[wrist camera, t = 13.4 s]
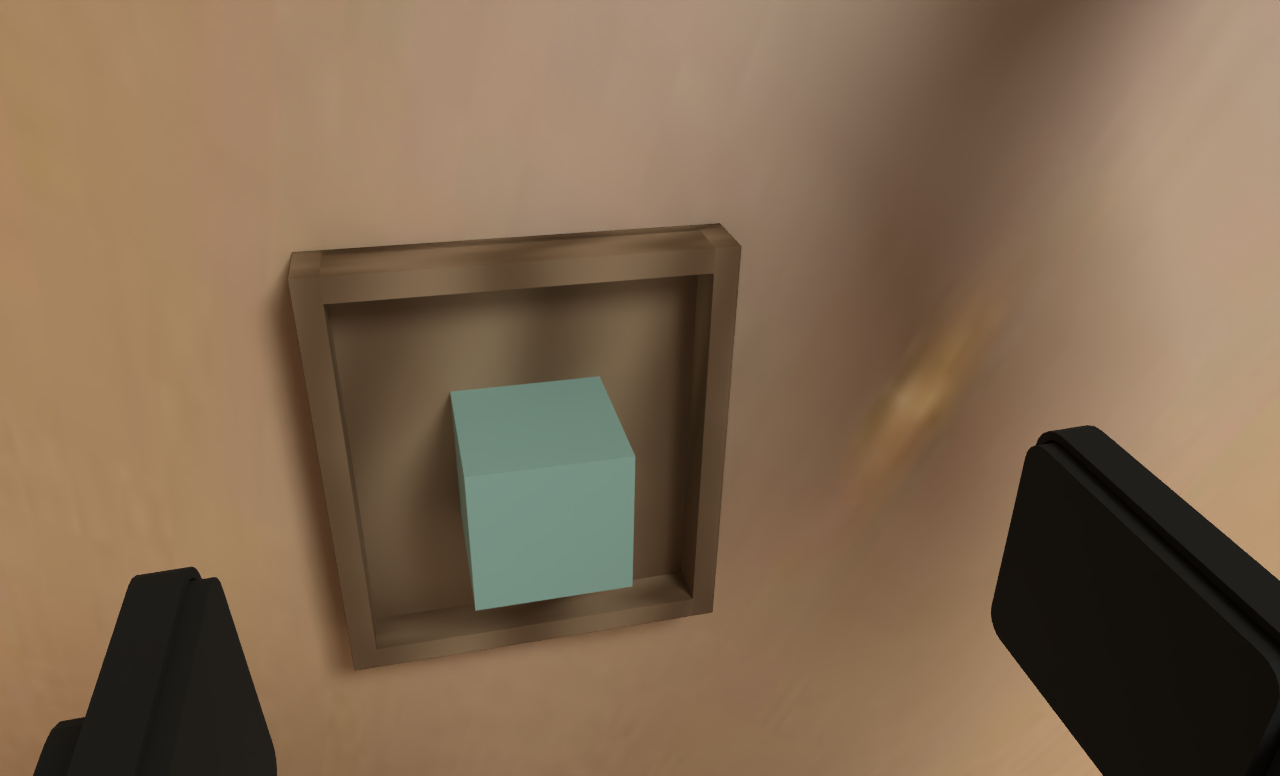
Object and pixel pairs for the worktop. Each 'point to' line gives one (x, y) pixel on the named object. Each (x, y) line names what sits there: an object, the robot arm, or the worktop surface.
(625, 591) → the walnut tray
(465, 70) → the worktop surface
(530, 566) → the teal cube
